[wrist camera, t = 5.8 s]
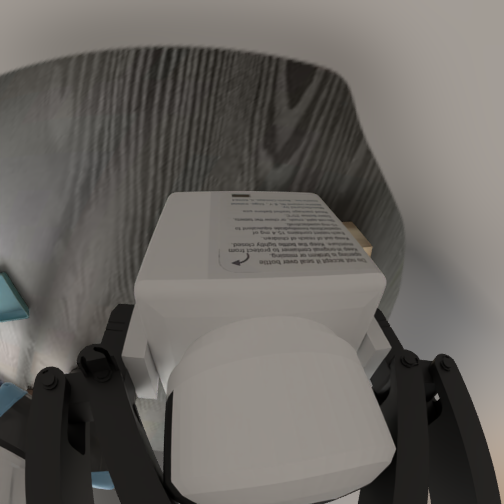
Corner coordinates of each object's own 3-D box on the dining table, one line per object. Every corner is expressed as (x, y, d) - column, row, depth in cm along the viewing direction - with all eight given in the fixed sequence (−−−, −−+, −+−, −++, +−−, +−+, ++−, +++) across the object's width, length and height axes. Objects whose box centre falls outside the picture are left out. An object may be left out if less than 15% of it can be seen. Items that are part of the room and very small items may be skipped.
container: (298, 302, 18) (361, 495, 8) (180, 306, 18) (172, 519, 7) (318, 190, 14) (484, 421, 3) (168, 190, 13) (82, 488, 2)
